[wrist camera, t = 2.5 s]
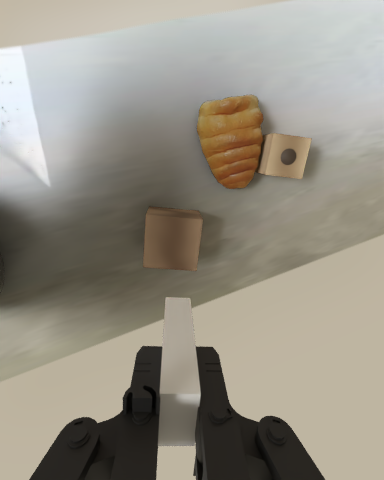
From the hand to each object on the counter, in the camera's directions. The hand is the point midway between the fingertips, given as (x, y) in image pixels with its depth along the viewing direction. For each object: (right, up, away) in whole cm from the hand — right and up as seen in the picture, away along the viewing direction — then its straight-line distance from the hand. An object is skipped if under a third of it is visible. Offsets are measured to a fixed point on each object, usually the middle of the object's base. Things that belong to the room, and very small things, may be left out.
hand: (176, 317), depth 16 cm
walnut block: (-2, +6, +16) cm, 17 cm away
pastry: (+3, +14, +15) cm, 20 cm away
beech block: (+10, +15, +14) cm, 23 cm away
